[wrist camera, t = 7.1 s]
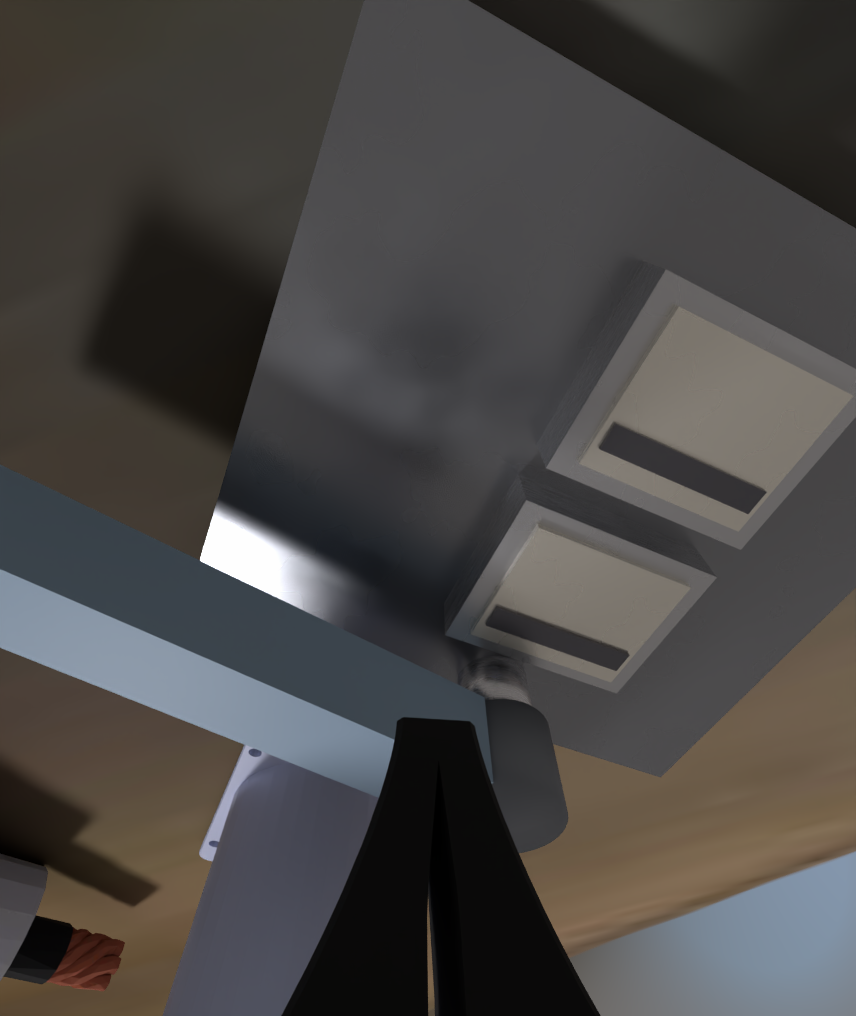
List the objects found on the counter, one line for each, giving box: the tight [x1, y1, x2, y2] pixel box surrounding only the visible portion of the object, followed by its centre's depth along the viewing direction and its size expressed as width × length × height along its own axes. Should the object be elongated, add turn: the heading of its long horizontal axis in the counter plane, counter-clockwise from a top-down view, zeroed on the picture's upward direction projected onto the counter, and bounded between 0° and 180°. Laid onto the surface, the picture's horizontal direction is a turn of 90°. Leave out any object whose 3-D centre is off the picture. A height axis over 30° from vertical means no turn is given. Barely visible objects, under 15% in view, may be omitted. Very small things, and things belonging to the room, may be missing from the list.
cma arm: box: [0, 465, 568, 853], centre depth 15 cm, size 18×3×3 cm, turn 57°
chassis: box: [200, 0, 856, 777], centre depth 16 cm, size 18×19×3 cm
